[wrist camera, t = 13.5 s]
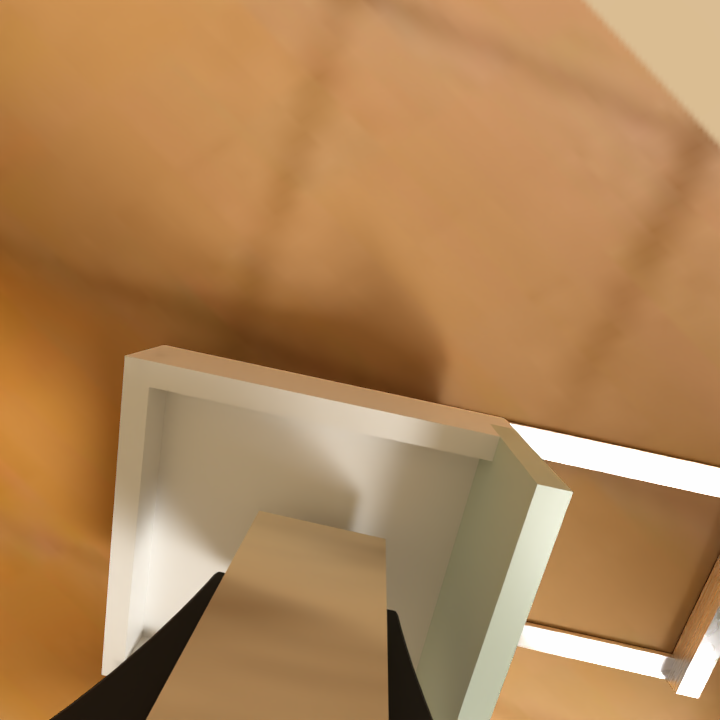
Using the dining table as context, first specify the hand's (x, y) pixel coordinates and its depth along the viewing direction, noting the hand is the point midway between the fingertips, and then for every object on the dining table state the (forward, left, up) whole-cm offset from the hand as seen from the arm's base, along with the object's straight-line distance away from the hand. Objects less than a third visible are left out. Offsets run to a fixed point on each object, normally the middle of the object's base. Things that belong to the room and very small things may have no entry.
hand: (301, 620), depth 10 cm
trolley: (0, +1, -6) cm, 6 cm away
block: (0, 0, -1) cm, 1 cm away
